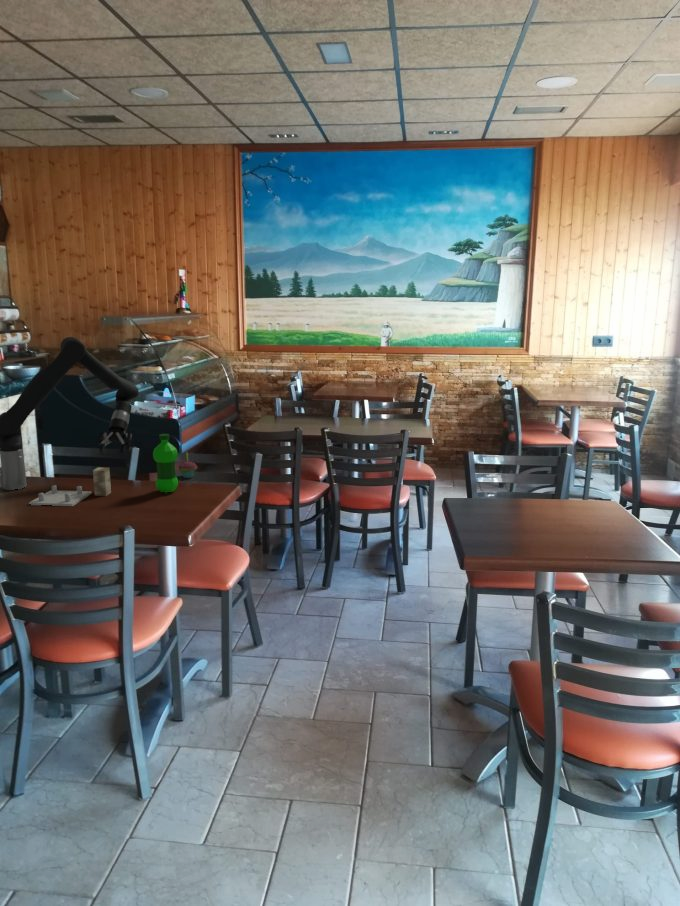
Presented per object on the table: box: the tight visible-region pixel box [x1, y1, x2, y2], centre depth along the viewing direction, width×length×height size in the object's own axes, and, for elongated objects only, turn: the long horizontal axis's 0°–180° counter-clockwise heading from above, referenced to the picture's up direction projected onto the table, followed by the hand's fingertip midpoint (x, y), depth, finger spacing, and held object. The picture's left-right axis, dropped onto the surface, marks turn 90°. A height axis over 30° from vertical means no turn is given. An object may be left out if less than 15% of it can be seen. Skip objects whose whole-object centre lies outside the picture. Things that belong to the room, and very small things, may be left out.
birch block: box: [92, 466, 112, 497], centre depth 289 cm, size 5×5×11 cm
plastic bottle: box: [152, 433, 179, 493], centre depth 291 cm, size 10×10×25 cm
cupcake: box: [178, 452, 198, 479], centre depth 317 cm, size 9×8×12 cm
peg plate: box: [28, 484, 93, 507], centre depth 282 cm, size 18×18×4 cm
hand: (111, 452), depth 298 cm, fingers open, 8 cm apart
